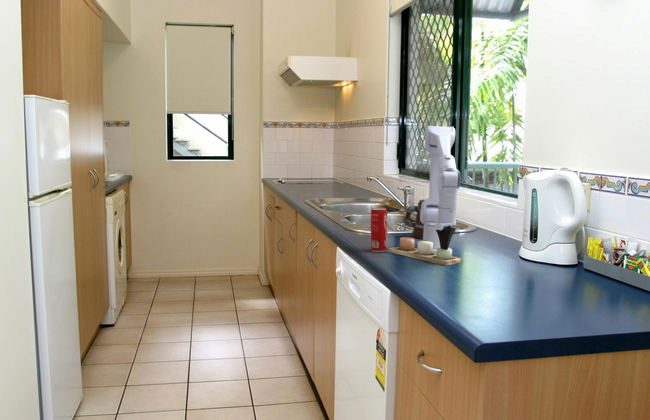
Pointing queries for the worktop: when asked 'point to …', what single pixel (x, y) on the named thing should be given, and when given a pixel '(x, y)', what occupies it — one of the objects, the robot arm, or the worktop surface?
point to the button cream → (425, 247)
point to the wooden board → (425, 256)
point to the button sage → (444, 254)
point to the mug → (418, 224)
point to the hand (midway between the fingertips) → (444, 249)
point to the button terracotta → (407, 243)
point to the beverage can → (378, 229)
